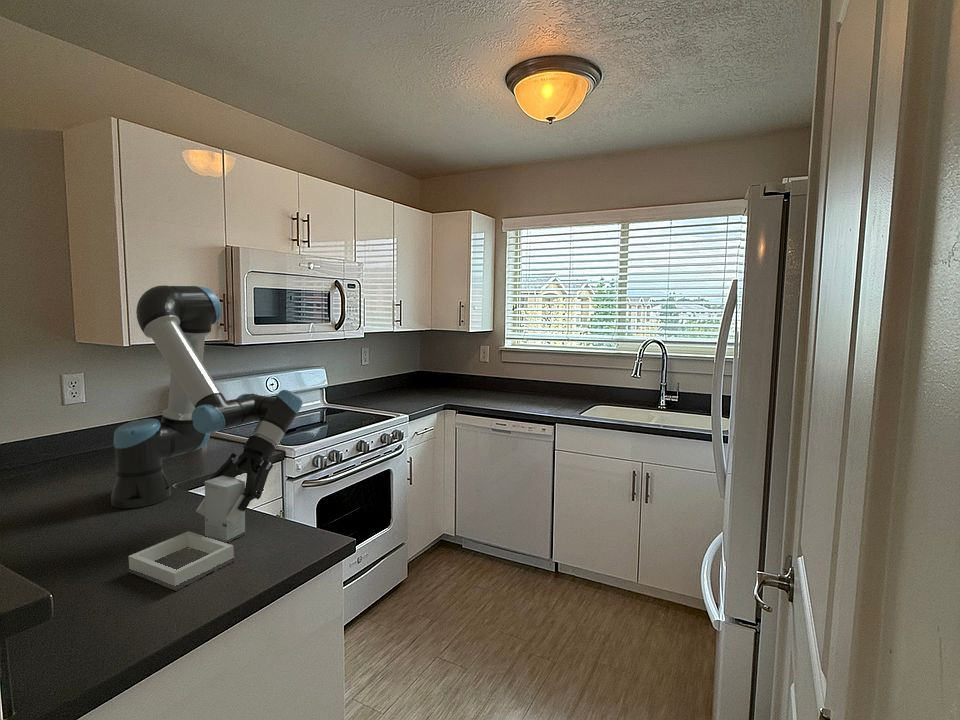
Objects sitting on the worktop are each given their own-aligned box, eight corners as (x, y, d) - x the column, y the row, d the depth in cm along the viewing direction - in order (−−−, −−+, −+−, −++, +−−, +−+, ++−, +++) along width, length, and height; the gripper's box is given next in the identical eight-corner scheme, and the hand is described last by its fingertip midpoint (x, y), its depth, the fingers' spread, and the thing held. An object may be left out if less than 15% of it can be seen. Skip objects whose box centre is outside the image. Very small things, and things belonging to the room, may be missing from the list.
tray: (129, 573, 115) (128, 556, 115) (189, 546, 128) (188, 531, 127) (175, 591, 108) (174, 573, 108) (234, 561, 121) (233, 545, 120)
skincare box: (204, 538, 133) (201, 481, 131) (224, 528, 138) (222, 474, 136) (228, 544, 129) (225, 486, 127) (248, 534, 135) (245, 479, 133)
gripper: (302, 454, 140) (256, 533, 128) (243, 443, 150) (195, 515, 138) (286, 439, 135) (236, 520, 122) (225, 429, 145) (174, 502, 133)
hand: (214, 517), depth 130 cm, fingers open, 10 cm apart
